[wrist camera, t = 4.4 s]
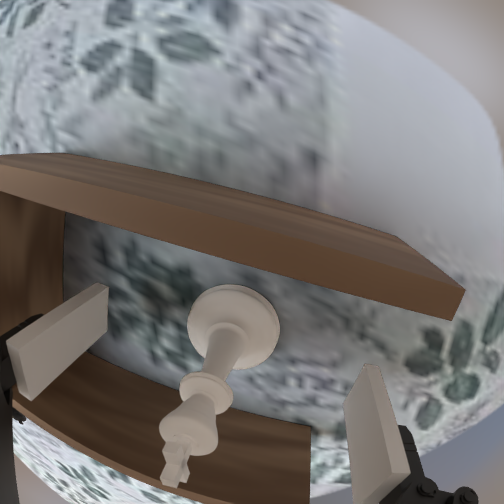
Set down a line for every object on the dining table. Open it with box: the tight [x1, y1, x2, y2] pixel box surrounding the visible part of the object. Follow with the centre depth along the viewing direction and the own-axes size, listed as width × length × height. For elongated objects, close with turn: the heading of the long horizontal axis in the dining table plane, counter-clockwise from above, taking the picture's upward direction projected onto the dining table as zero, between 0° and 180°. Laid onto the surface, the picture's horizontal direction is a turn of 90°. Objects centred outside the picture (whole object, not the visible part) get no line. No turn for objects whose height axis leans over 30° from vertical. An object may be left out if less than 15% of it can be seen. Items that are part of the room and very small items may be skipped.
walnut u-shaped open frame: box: [0, 153, 465, 504], centre depth 13 cm, size 14×19×7 cm
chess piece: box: [159, 284, 280, 488], centre depth 11 cm, size 5×5×10 cm
